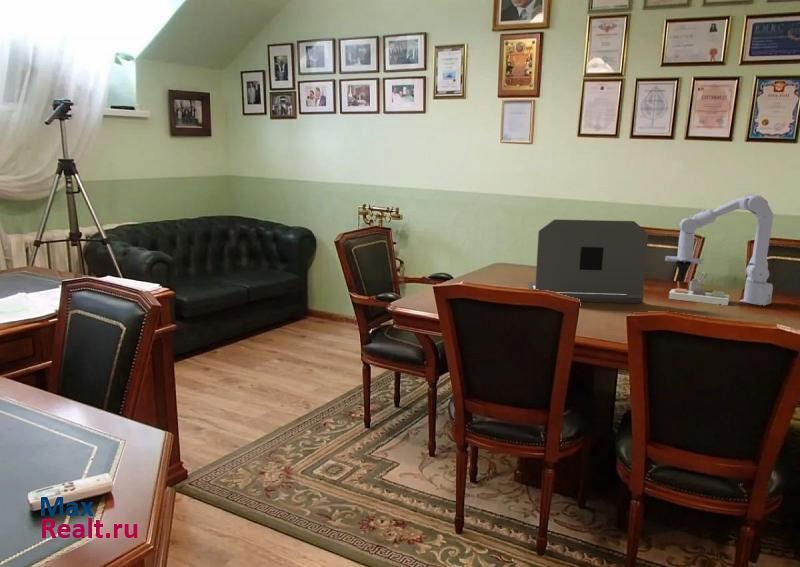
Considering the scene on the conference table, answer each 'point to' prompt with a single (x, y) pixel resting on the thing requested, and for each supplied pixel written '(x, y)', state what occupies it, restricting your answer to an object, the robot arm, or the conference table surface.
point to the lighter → (696, 282)
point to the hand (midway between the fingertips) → (682, 279)
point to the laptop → (592, 260)
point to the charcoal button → (699, 292)
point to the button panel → (699, 297)
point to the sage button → (718, 294)
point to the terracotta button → (681, 290)
